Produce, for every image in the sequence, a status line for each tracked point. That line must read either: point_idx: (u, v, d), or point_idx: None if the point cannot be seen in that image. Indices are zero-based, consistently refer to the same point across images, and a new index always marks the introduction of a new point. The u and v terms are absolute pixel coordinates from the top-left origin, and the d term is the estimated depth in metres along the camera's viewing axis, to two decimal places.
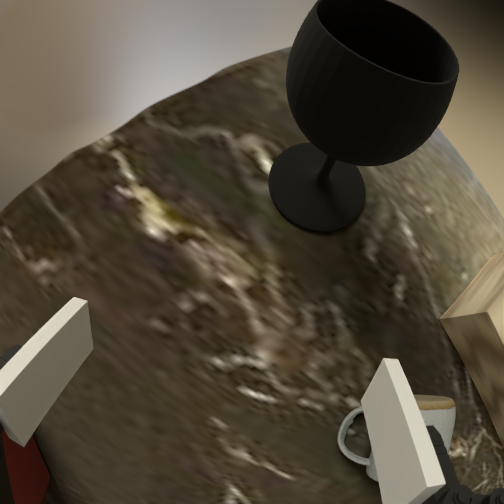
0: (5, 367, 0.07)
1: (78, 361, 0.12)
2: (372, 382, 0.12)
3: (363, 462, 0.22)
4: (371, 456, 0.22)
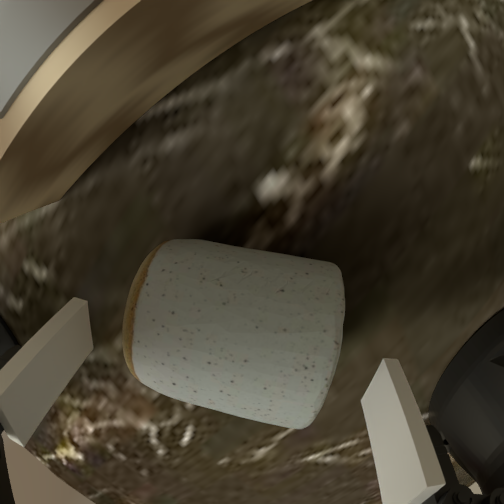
0: (5, 367, 0.07)
1: (78, 361, 0.12)
2: (372, 382, 0.12)
3: None
4: None
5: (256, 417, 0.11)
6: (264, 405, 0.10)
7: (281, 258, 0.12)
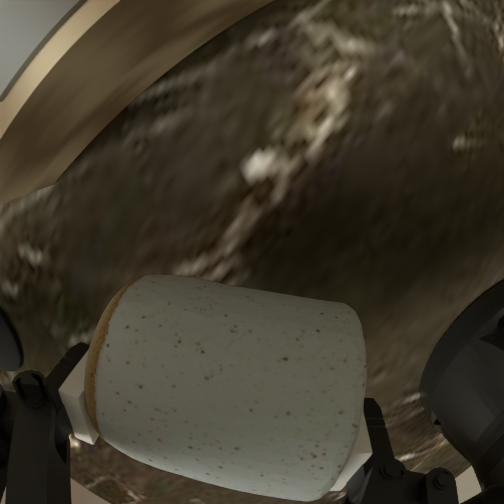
0: (79, 365, 0.09)
1: None
2: None
3: None
4: None
5: None
6: (261, 488, 0.07)
7: (283, 306, 0.09)
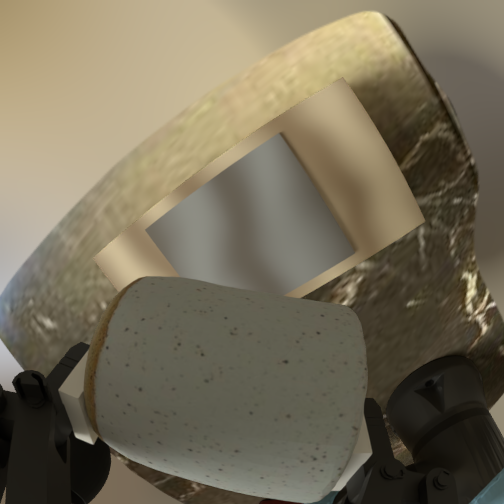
0: (79, 365, 0.09)
1: None
2: None
3: None
4: None
5: (251, 494, 0.08)
6: (261, 490, 0.07)
7: (283, 308, 0.09)
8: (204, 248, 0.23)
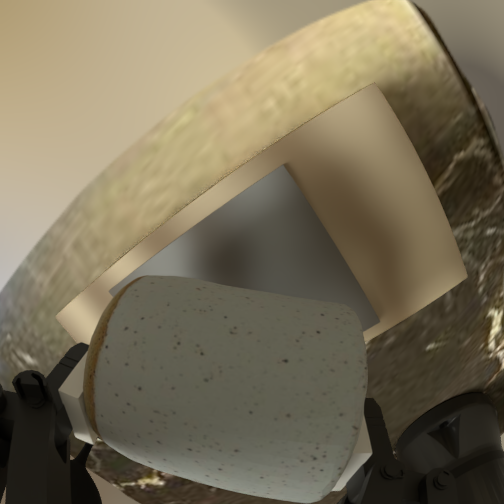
0: (79, 365, 0.09)
1: None
2: None
3: None
4: None
5: (251, 494, 0.08)
6: (261, 490, 0.07)
7: (283, 307, 0.09)
8: None
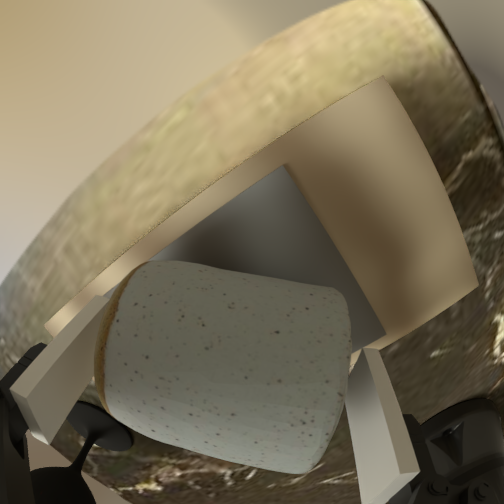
0: (32, 365, 0.08)
1: None
2: (352, 371, 0.13)
3: None
4: None
5: (247, 464, 0.09)
6: (255, 457, 0.08)
7: (276, 287, 0.10)
8: None
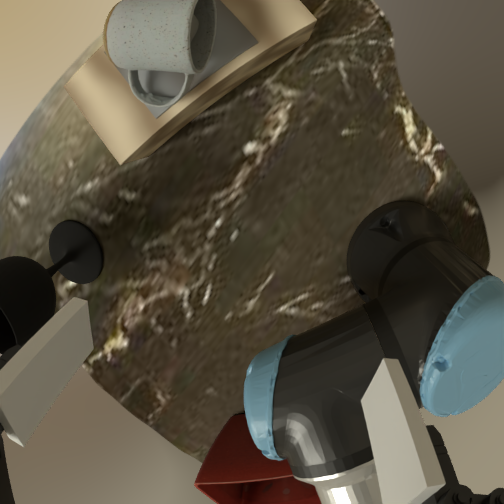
0: (5, 367, 0.07)
1: (78, 361, 0.12)
2: (372, 382, 0.12)
3: (185, 79, 0.23)
4: None
5: (161, 36, 0.18)
6: (164, 21, 0.17)
7: None
8: None
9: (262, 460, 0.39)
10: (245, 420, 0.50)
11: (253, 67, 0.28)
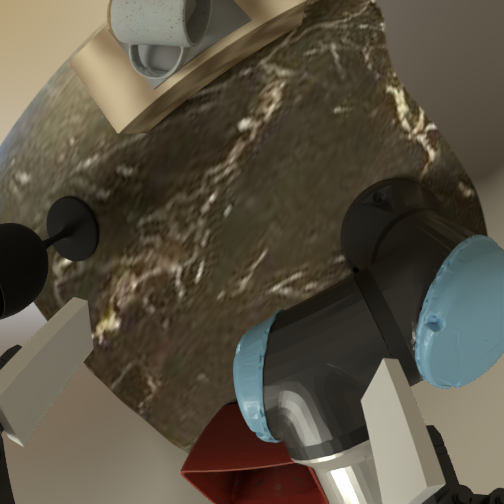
0: (5, 367, 0.07)
1: (77, 361, 0.12)
2: (372, 382, 0.12)
3: (181, 51, 0.24)
4: (174, 45, 0.23)
5: (159, 10, 0.18)
6: None
7: None
8: None
9: (251, 448, 0.38)
10: (237, 409, 0.49)
11: (247, 46, 0.29)
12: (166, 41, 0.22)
